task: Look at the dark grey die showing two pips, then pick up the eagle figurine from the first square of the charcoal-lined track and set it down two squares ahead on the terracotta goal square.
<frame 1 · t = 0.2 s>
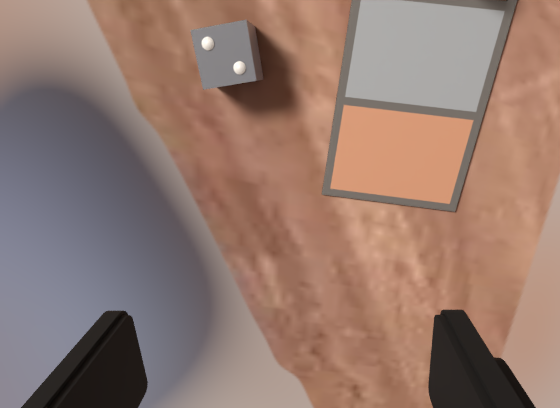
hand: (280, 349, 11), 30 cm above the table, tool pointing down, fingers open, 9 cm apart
die: (235, 57, 37), on the table
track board: (419, 56, 36), on the table
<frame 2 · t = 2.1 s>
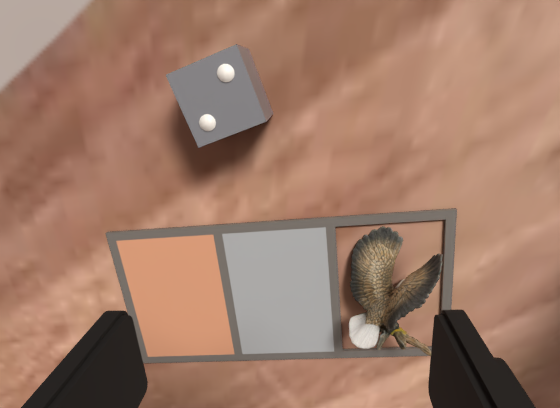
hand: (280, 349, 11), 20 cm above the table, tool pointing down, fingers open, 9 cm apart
die: (231, 94, 29), on the table
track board: (281, 293, 34), on the table
eagle figurine: (385, 275, 33), on the table
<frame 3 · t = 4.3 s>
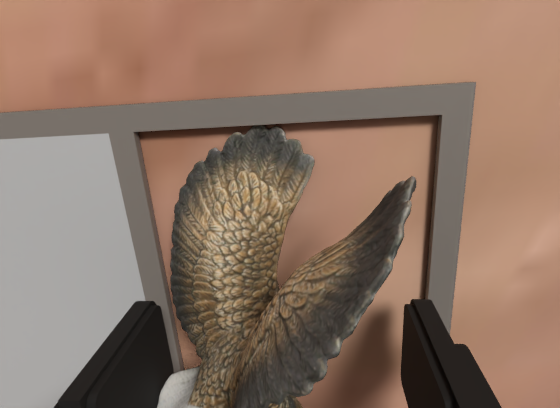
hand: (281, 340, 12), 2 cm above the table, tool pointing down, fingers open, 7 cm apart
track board: (40, 307, 14), on the table
eagle figurine: (280, 264, 13), on the table, touching gripper
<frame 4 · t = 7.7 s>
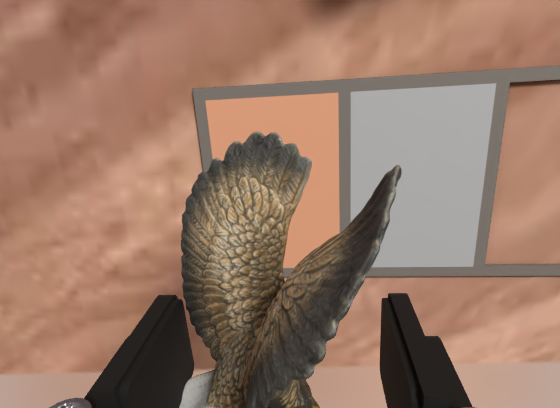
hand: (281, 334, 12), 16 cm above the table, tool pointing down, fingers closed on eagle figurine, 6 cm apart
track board: (414, 183, 26), on the table
eagle figurine: (288, 266, 13), point 14 cm above the table, touching gripper
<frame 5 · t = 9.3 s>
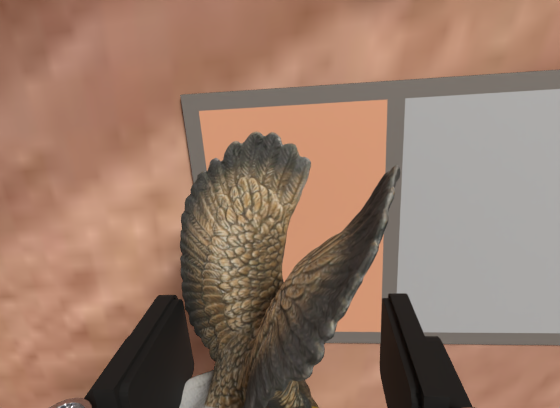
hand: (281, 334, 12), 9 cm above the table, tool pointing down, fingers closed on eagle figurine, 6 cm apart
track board: (488, 223, 19), on the table
eagle figurine: (287, 266, 13), point 7 cm above the table, touching gripper
when the fingers open (3 cm above the table, at t = 10.8 s): eagle figurine stays where it is, resting on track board.
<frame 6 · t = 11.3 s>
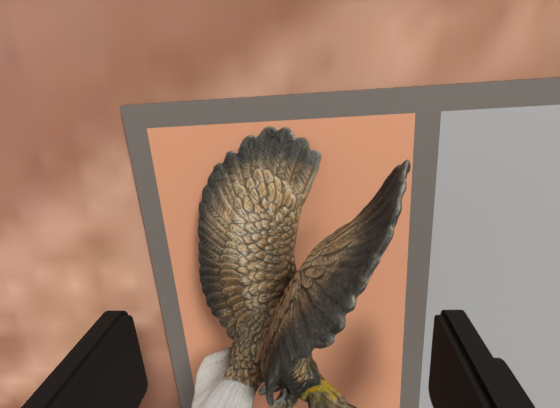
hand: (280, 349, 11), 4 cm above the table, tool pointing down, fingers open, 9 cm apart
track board: (551, 282, 14), on the table
eagle figurine: (296, 252, 14), resting on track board
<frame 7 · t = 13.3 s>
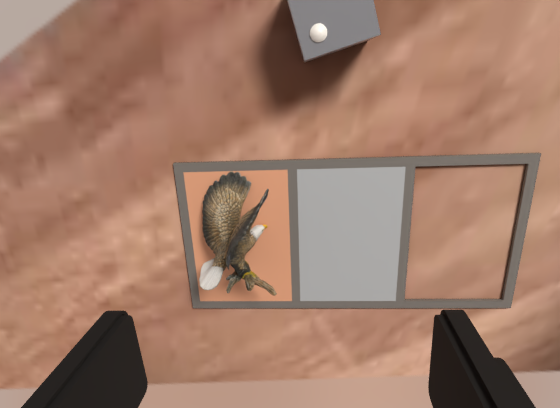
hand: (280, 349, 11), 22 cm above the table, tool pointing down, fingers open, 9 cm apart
die: (326, 17, 28), on the table
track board: (348, 237, 33), on the table
eagle figurine: (243, 222, 33), resting on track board
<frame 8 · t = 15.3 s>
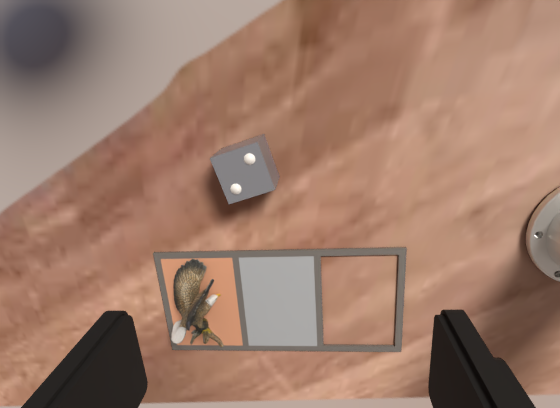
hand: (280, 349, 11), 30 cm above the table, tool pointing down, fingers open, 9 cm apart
die: (250, 162, 41), on the table
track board: (279, 302, 46), on the table
eagle figurine: (203, 291, 47), resting on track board
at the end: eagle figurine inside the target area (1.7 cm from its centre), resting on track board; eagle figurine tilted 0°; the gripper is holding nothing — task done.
